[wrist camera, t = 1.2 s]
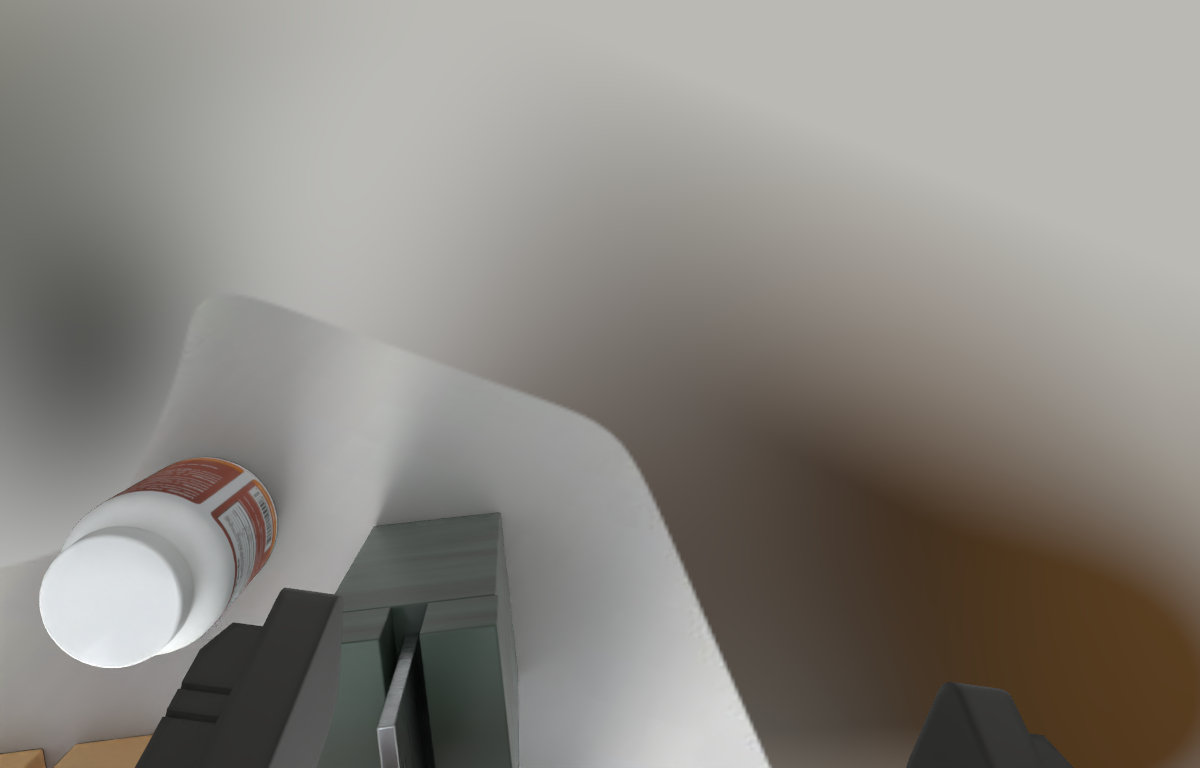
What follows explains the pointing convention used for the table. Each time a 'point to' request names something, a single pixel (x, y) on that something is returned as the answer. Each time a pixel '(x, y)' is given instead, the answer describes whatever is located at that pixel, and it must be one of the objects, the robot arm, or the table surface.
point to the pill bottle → (158, 563)
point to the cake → (85, 755)
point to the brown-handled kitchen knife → (406, 713)
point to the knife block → (430, 642)
